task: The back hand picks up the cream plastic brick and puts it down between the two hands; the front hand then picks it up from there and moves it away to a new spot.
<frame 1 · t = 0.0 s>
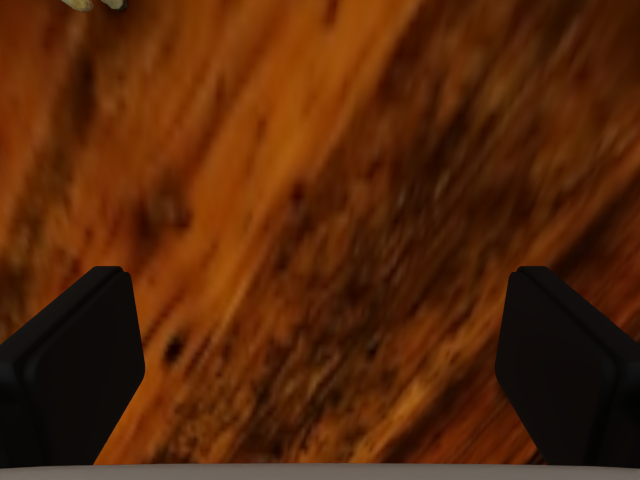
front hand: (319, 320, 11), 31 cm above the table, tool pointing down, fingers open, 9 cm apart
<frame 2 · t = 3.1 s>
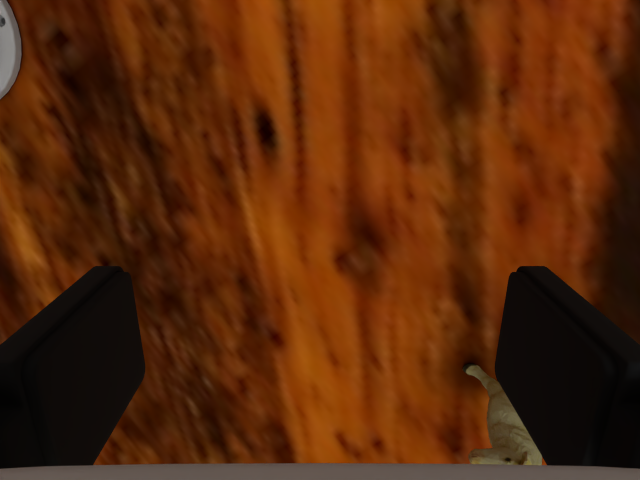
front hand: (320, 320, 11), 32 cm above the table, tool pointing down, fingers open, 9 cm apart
toy: (516, 360, 49), on the table
when the back hand's fingers open (7 cm above the table, at t = 8.4 s): brick drops 1 cm, on the table.
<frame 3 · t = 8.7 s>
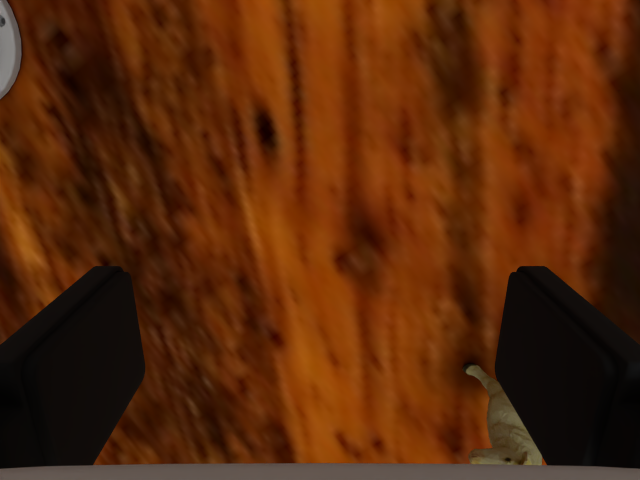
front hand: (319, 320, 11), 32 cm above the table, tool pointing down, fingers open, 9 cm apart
toy: (516, 360, 49), on the table
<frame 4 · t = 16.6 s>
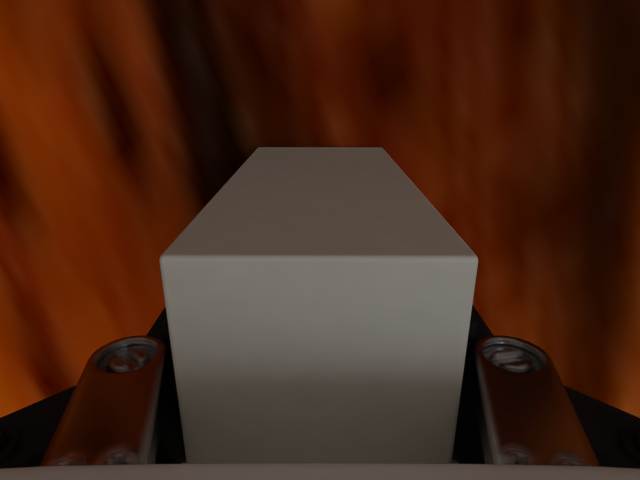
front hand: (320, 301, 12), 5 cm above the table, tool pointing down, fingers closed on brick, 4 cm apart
brick: (320, 243, 16), on the table, touching front hand
when the front hand's fingers open (6 cm above the table, at t = 23.5 s): brick drops 2 cm, on the table.
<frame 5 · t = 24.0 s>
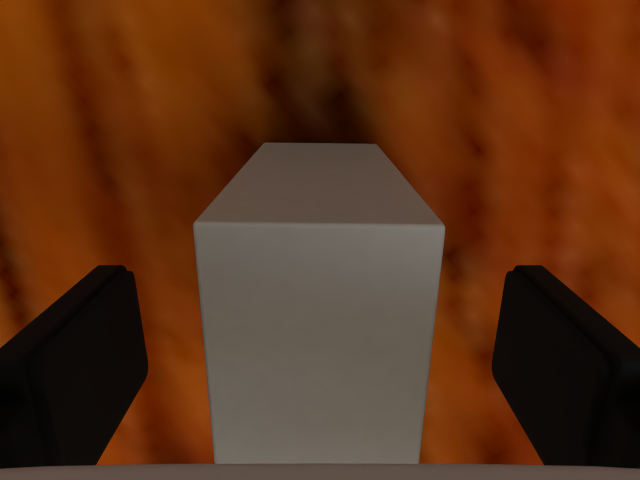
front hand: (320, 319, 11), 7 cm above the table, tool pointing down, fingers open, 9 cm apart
brick: (319, 231, 18), on the table
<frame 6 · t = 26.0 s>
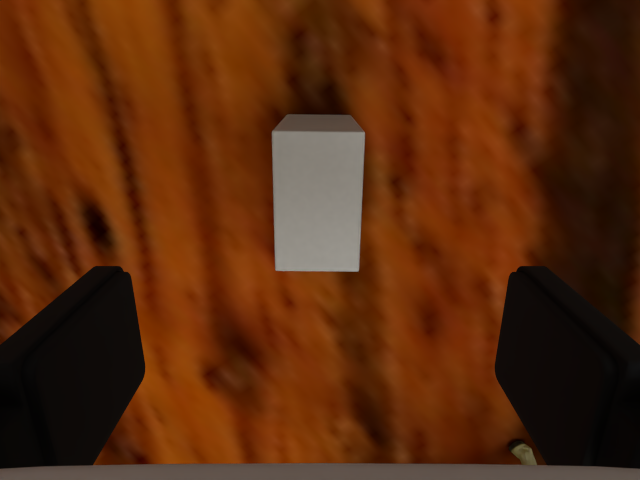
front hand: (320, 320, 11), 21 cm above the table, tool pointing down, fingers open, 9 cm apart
brick: (318, 167, 30), on the table
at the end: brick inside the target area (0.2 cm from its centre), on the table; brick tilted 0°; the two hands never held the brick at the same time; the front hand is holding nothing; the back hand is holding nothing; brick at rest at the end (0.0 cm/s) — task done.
